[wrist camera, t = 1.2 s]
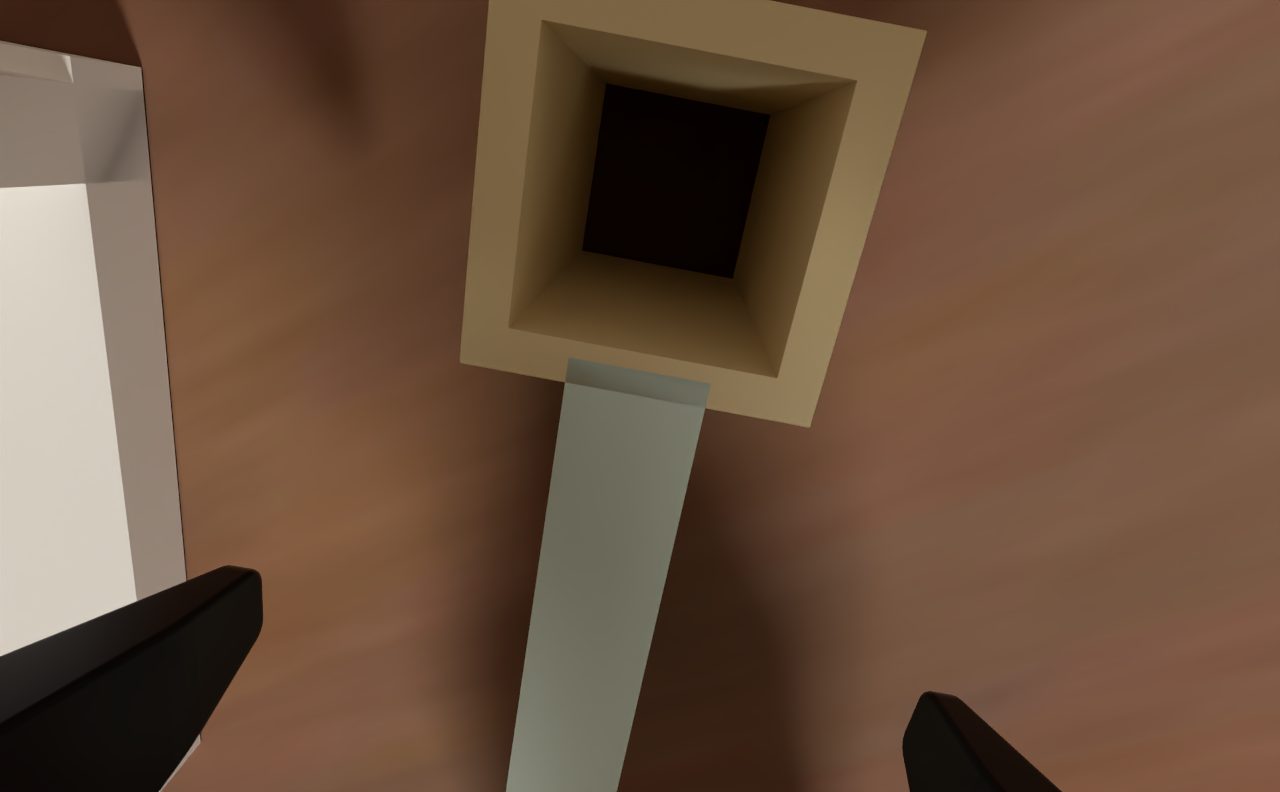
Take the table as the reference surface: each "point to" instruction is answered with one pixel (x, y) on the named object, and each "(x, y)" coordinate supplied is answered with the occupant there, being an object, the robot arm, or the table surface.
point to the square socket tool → (656, 305)
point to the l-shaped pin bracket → (80, 351)
